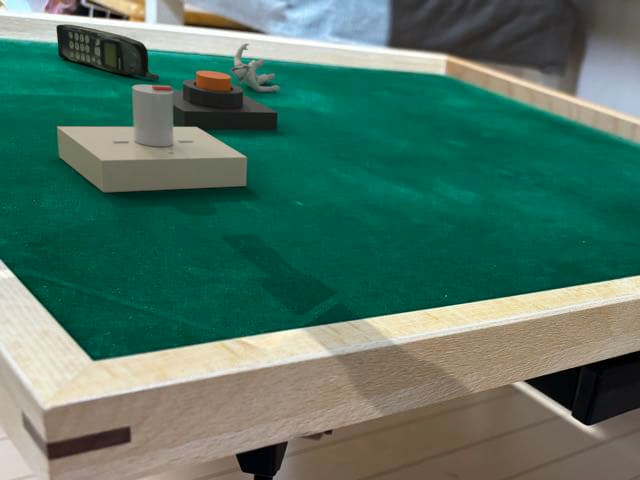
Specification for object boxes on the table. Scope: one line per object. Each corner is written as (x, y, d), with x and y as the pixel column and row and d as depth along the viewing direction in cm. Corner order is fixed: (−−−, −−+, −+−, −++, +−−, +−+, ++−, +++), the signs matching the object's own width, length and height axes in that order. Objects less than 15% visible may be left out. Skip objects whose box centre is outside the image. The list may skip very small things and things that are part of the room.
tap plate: (103, 192, 80) (101, 158, 78) (58, 157, 86) (56, 124, 85) (246, 186, 89) (247, 155, 88) (196, 154, 96) (197, 125, 94)
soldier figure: (288, 92, 136) (279, 80, 124) (263, 111, 136) (252, 100, 124) (255, 48, 134) (243, 32, 122) (229, 67, 134) (215, 52, 122)
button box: (184, 130, 103) (184, 95, 101) (148, 107, 109) (147, 74, 107) (277, 130, 111) (278, 97, 109) (238, 109, 117) (239, 78, 115)
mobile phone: (51, 21, 120) (147, 43, 117) (67, 21, 122) (161, 42, 120) (54, 60, 122) (148, 82, 120) (70, 58, 125) (162, 80, 122)
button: (205, 93, 106) (205, 78, 105) (190, 84, 108) (190, 70, 107) (236, 94, 108) (237, 79, 108) (221, 85, 111) (221, 71, 110)
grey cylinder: (143, 147, 84) (141, 90, 82) (127, 136, 86) (125, 80, 84) (180, 146, 87) (179, 91, 84) (163, 136, 89) (163, 81, 86)
